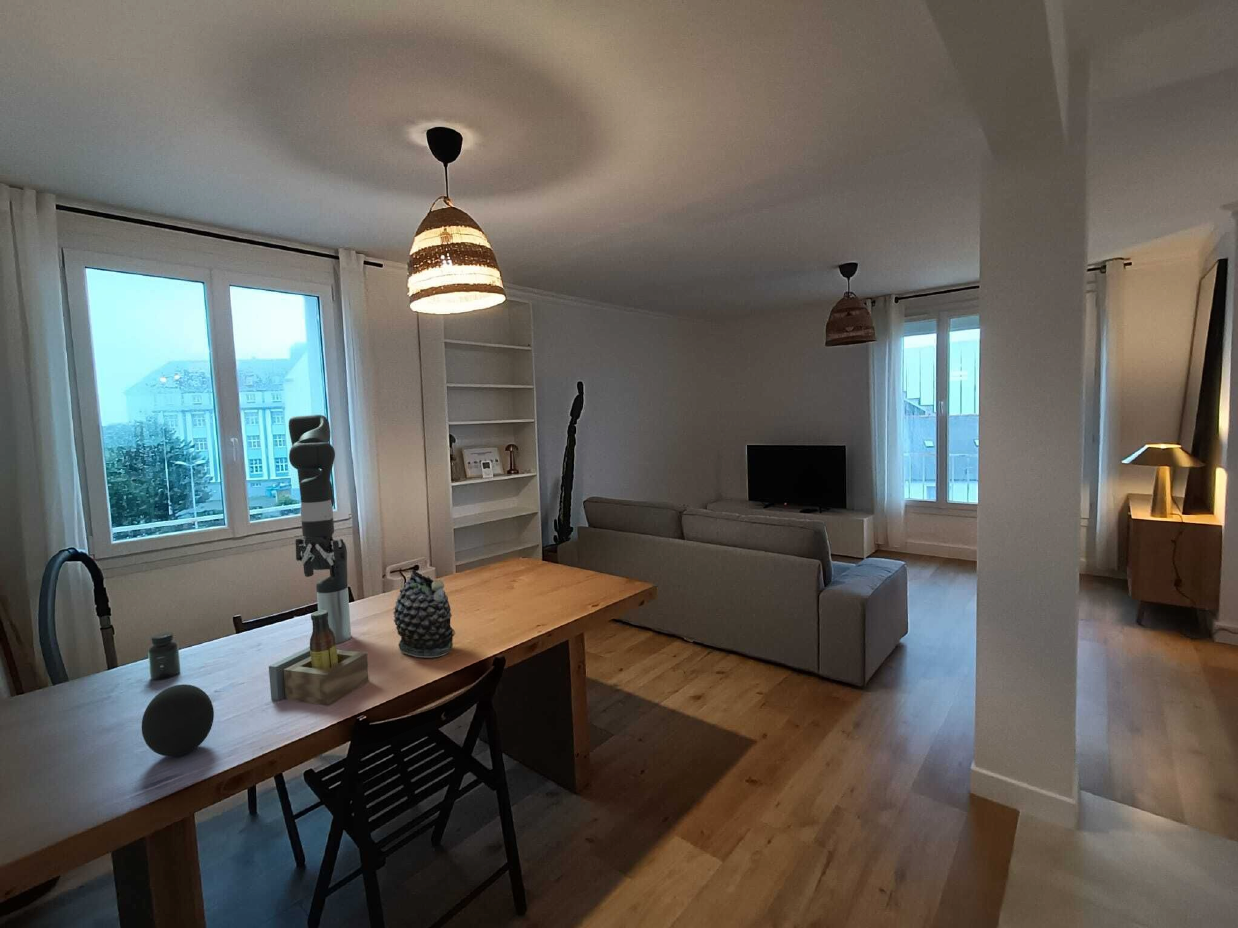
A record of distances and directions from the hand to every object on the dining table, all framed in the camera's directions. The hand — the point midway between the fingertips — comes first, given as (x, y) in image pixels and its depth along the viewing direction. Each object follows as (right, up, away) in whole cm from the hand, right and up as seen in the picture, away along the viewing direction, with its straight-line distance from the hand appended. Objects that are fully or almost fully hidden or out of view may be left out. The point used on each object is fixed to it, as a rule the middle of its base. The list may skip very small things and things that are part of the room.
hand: (322, 577), depth 151 cm
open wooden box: (+2, -30, 0) cm, 30 cm away
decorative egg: (-16, -33, -28) cm, 46 cm away
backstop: (-7, -30, +3) cm, 31 cm away
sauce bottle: (+1, -29, 0) cm, 29 cm away
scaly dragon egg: (+19, -28, +25) cm, 42 cm away
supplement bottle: (-52, -32, +13) cm, 62 cm away
